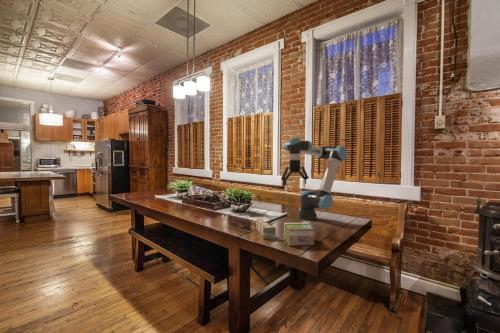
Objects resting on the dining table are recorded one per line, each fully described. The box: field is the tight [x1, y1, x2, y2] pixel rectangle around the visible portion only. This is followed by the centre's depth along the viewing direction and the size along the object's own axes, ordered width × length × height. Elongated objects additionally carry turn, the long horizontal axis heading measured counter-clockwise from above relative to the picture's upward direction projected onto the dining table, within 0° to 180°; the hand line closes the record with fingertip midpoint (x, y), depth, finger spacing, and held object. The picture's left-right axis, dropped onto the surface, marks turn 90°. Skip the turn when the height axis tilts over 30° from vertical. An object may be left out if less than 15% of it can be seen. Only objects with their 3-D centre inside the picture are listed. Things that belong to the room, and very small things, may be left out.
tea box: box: [283, 222, 315, 247], centre depth 151 cm, size 15×10×15 cm
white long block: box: [255, 218, 277, 240], centre depth 167 cm, size 24×8×7 cm, turn 14°
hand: (295, 189), depth 179 cm, fingers open, 13 cm apart
